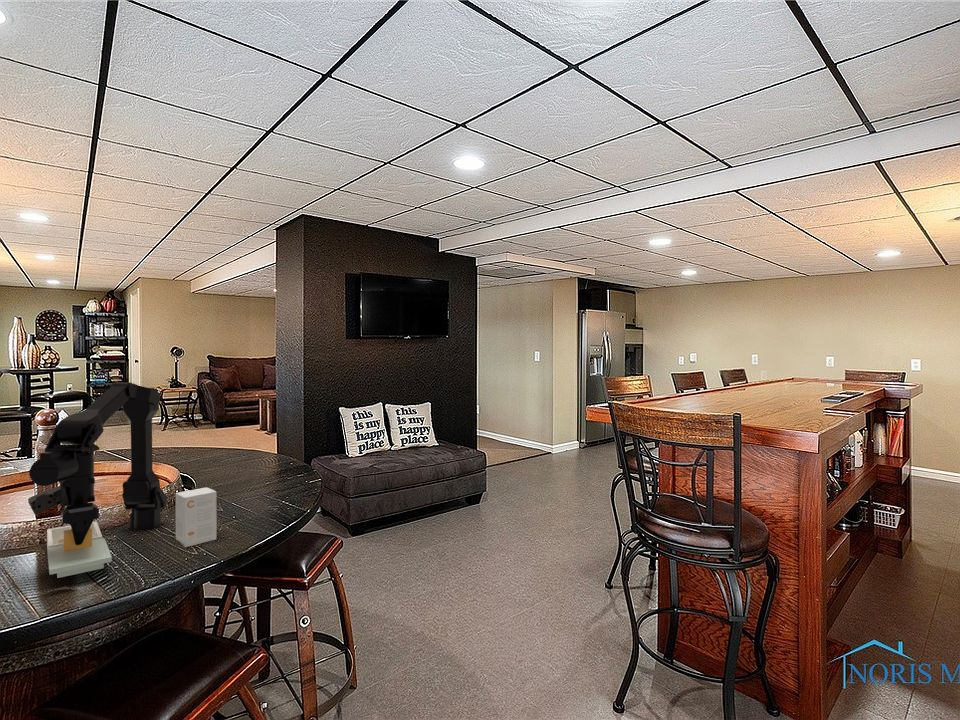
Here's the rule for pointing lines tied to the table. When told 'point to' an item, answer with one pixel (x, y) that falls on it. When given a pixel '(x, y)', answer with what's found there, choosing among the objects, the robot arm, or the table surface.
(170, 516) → the table surface
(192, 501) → the small box
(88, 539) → the lid
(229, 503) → the table surface
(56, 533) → the tub
